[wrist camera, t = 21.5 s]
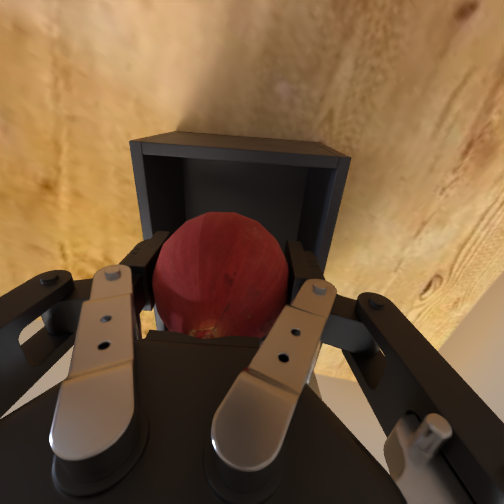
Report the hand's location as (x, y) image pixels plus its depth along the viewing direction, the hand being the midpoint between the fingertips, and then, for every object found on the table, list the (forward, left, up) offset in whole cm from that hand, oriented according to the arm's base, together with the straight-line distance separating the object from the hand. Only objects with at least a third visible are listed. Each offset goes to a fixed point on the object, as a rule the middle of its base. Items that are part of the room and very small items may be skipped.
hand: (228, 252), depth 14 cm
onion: (0, 0, -1) cm, 1 cm away
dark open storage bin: (+3, +4, -16) cm, 17 cm away
